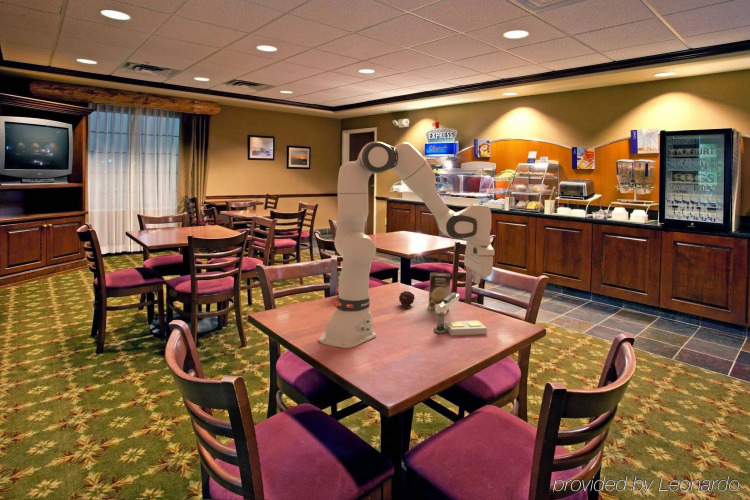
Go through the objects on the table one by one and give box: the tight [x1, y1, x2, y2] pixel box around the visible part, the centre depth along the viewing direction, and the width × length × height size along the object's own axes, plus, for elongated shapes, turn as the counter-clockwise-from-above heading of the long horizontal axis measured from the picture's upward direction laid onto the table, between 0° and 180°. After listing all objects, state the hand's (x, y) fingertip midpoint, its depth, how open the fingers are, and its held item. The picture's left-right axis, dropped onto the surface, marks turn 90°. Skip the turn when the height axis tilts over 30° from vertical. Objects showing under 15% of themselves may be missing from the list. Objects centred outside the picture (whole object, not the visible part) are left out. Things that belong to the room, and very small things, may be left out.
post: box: [433, 313, 448, 334], centre depth 171 cm, size 5×5×7 cm
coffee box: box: [427, 272, 452, 312], centre depth 199 cm, size 9×6×16 cm
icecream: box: [398, 290, 416, 310], centre depth 205 cm, size 7×7×15 cm
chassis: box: [444, 319, 488, 336], centre depth 173 cm, size 14×9×3 cm, turn 98°
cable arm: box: [434, 292, 460, 315], centre depth 178 cm, size 22×4×4 cm, turn 153°
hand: (476, 282), depth 170 cm, fingers closed
